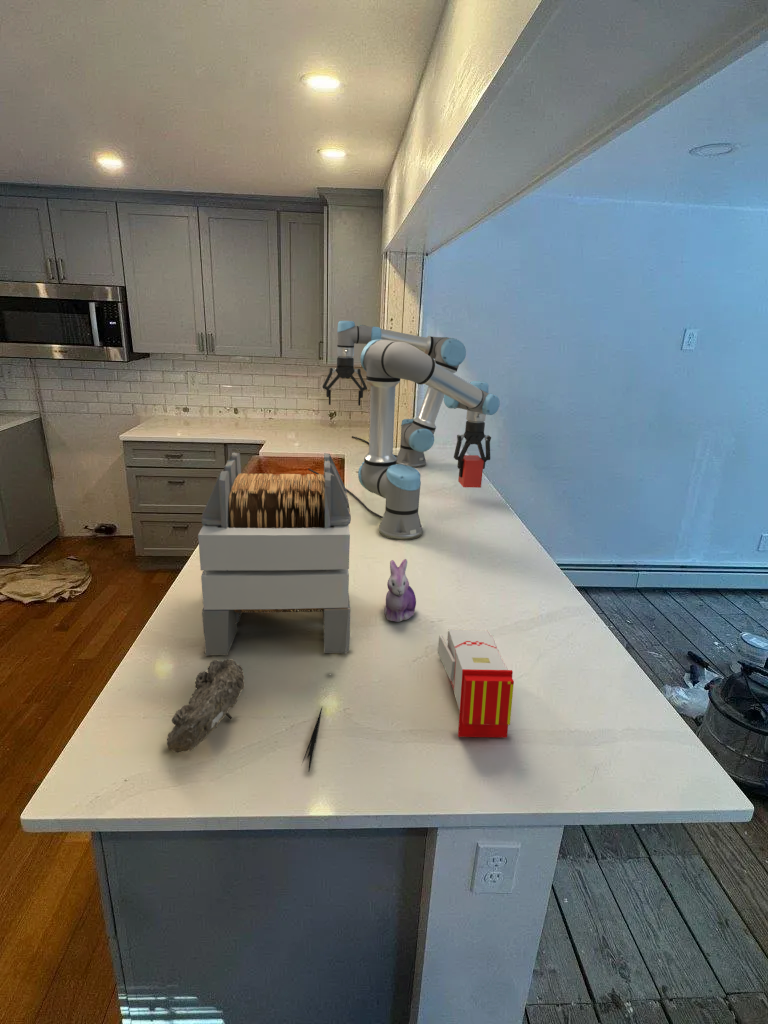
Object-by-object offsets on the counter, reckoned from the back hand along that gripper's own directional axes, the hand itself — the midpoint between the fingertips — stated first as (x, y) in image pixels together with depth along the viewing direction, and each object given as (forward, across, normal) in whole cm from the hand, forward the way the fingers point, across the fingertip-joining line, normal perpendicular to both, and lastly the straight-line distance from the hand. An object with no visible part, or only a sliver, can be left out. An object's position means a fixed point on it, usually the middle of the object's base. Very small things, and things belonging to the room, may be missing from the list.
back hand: (344, 404), depth 261 cm
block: (+24, +50, -44) cm, 71 cm away
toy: (+32, +17, -167) cm, 171 cm away
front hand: (+21, +50, -44) cm, 70 cm away
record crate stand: (+32, -23, -135) cm, 140 cm away
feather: (+32, -14, -173) cm, 176 cm away
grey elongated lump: (+32, -34, -171) cm, 177 cm away
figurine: (+32, +7, -134) cm, 138 cm away
